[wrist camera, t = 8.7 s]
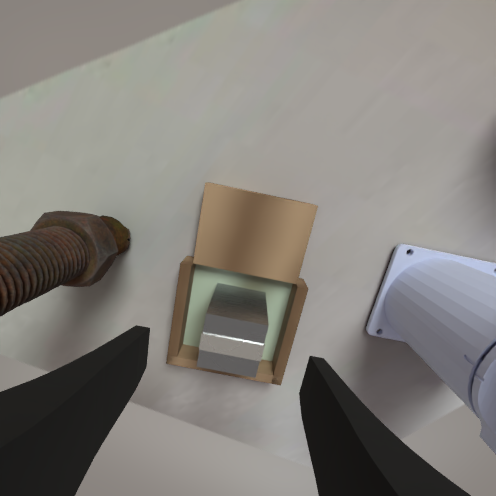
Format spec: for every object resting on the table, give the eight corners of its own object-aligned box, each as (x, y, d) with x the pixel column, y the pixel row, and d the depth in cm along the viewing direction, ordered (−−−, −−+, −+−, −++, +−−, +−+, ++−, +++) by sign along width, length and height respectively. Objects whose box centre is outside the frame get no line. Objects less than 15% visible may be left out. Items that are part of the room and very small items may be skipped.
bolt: (122, 279, 21) (-175, 496, 6) (69, 244, 20) (-397, 396, 6) (159, 224, 20) (-109, 338, 5) (103, 184, 19) (-383, 189, 5)
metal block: (266, 292, 21) (269, 326, 16) (255, 334, 22) (256, 379, 17) (217, 282, 20) (204, 314, 16) (209, 325, 21) (195, 367, 17)
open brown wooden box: (323, 206, 19) (331, 209, 17) (278, 368, 23) (280, 385, 21) (198, 180, 19) (192, 179, 17) (173, 347, 22) (166, 363, 21)
